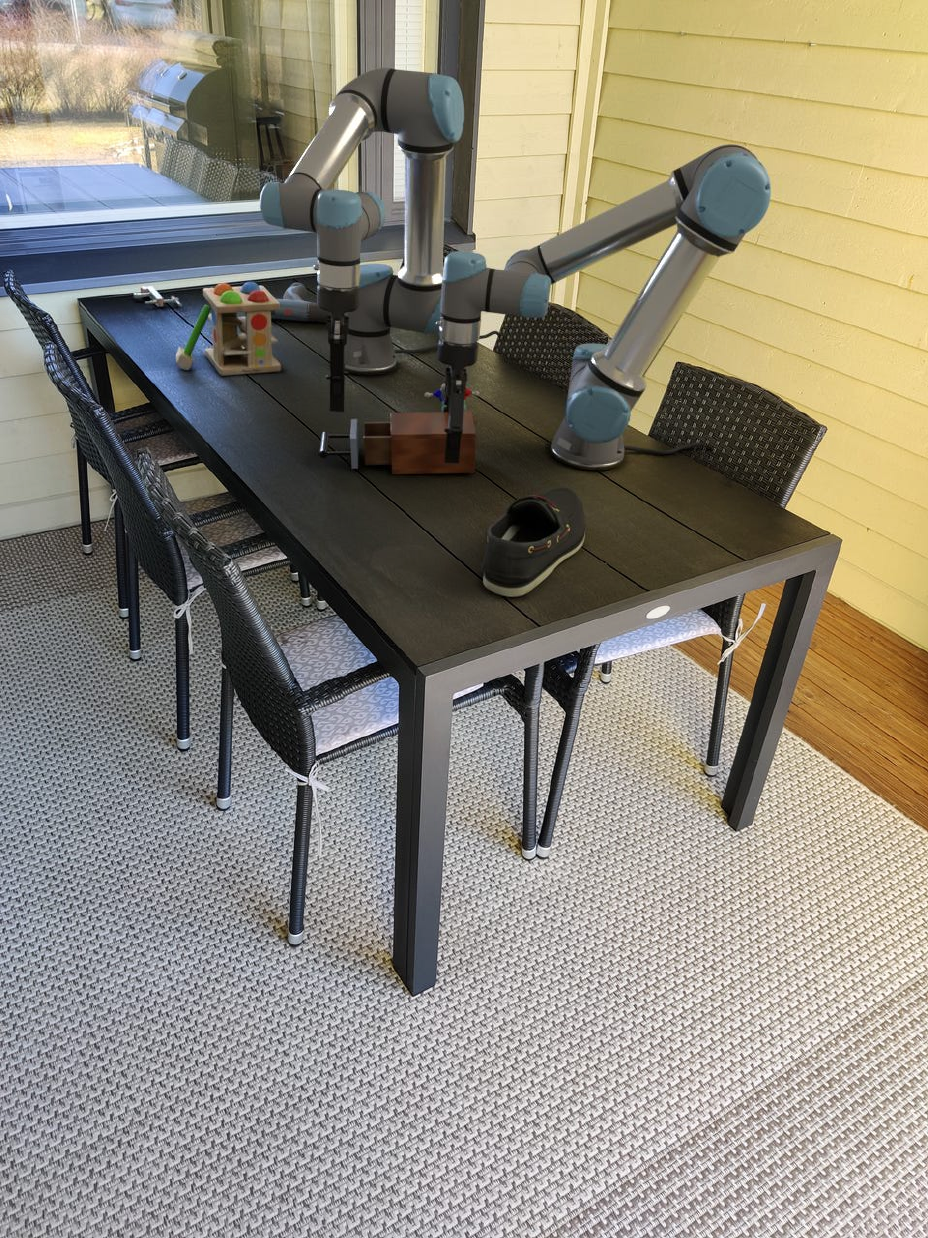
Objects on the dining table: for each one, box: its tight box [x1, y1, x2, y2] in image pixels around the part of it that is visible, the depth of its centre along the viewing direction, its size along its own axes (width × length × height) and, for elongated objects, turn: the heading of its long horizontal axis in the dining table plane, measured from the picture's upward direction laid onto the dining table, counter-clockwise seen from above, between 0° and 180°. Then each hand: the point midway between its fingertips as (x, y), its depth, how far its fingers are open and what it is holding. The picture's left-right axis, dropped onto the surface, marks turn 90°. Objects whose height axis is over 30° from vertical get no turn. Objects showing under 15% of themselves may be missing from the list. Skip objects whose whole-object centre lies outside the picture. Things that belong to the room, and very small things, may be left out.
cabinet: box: [390, 411, 477, 475], centre depth 193 cm, size 16×11×8 cm, turn 94°
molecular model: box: [424, 383, 480, 418], centre depth 211 cm, size 12×10×10 cm
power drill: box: [271, 282, 331, 322], centre depth 265 cm, size 5×19×20 cm
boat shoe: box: [481, 487, 586, 598], centre depth 167 cm, size 13×33×10 cm, turn 147°
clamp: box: [133, 285, 183, 308], centre depth 263 cm, size 15×2×10 cm
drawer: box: [318, 418, 392, 470], centre depth 192 cm, size 21×9×6 cm, turn 94°
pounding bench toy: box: [174, 281, 282, 377], centre depth 225 cm, size 23×14×18 cm, turn 116°
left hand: (336, 410), depth 188 cm, fingers closed
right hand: (449, 449), depth 194 cm, fingers closed on cabinet, 11 cm apart
